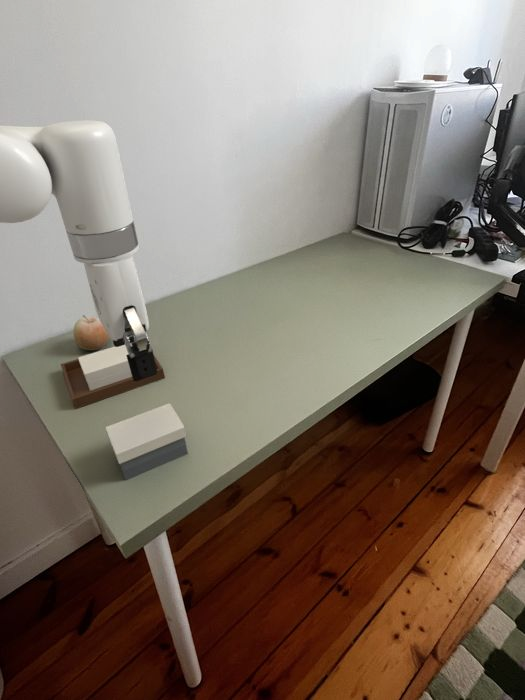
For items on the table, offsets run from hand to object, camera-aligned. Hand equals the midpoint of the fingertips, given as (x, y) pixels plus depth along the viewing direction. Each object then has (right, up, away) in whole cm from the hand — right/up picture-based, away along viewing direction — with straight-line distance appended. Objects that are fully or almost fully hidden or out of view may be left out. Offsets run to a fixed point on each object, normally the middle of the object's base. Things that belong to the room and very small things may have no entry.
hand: (134, 359), depth 60 cm
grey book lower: (0, -15, +9) cm, 18 cm away
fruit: (-20, +2, +37) cm, 42 cm away
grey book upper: (0, -14, +8) cm, 16 cm away
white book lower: (-12, -3, +27) cm, 30 cm away
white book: (0, -12, +7) cm, 14 cm away
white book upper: (-12, -2, +26) cm, 29 cm away
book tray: (-12, -4, +27) cm, 30 cm away
